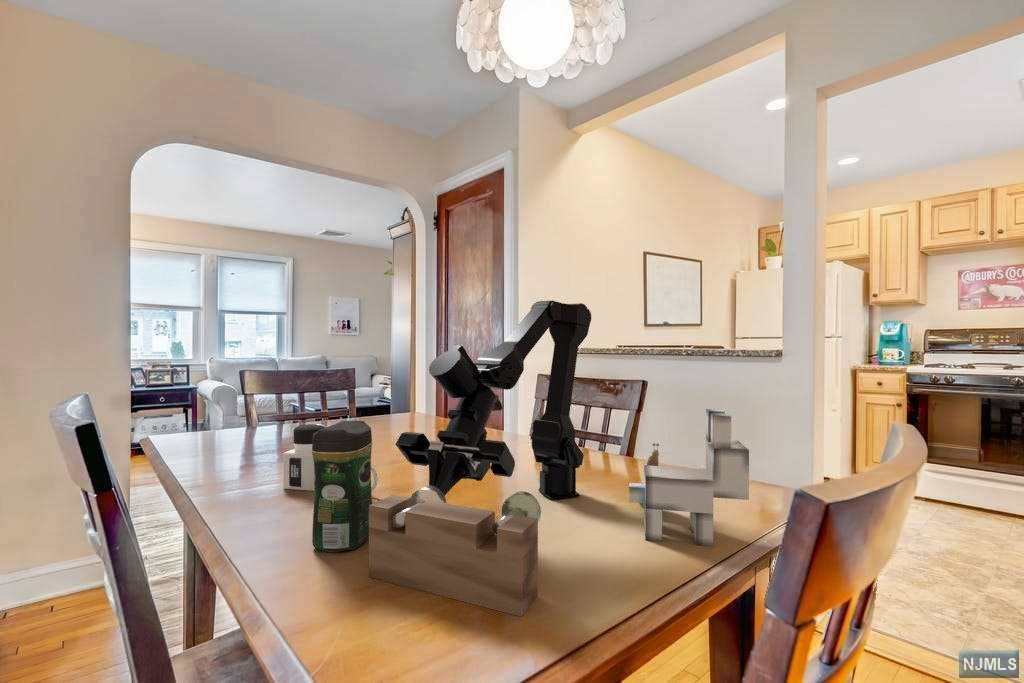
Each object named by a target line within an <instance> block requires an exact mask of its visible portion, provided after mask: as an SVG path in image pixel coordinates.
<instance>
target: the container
mask: <svg viewBox="0 0 1024 683" xmlns="http://www.w3.org/2000/svg"><path fill="white" fill-rule="evenodd" d="M326 427H327V426H325V425H323V424H320V423H306V424H301V425H298V426H295V427H294V429H293V449H290V450H288V451H284V452H283V454H282V455H283V456H282V459H283V460H282V464H283V465H282V466H283V467H282V469H283V470H282V473H283V477H282V478H283V479H282V481H283V482H282V483H283V484H282V486H283V489H284V490H297V491H309V492H310V491H311V492H314V476H315V474H314V461H313V455H312V442H313V439H312V436H313V434H314V433H315V432H318V430H320V429H322V428H326Z"/></svg>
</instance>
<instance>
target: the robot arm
mask: <svg viewBox="0 0 1024 683" xmlns="http://www.w3.org/2000/svg"><path fill="white" fill-rule="evenodd" d="M591 322H592V312H591V310H590V309H589V308H588V307H587V305H585V304H584V303H581V302H580V303H563V302H559V301H556V300H553V299H552V300H541V301H536V302H534V303H533V304H532V305H531V308H530V311H528V313H527V314H526V315H525V316H524V317H523V318H522V320H521V321H520V322H519V324H517V325H516V327H515V328H514V329H513V331H511V333H510V334H509V335H508V336H507V338H506V339H505V340H504V341H503V342H502V343H501V344H499V345H497V346H494V347H492V348H490V349H488V350H487V351H486V352H484V353H483V354H482V355H481V356H480V357H479V358H478V359H476V361H475V363H474V361H473V360H472V359H471V357H470V356H469V355H468V353H467V350H466V349H465V347H464V346H463V345H453V346H452V347H451V348H450V349H449V350H447V351H444V352H443V353H440V355H438V356H437V357H436V358H434V359H433V360H432V361H431V363H430V364H429V368H428V371H429V372H428V373H429V374H430V375H431V377H432V378H433V379H434V381H435V382H436V383H437V384H438V385H439V386H440V387H441V388H442V389H443V391H444V392H445V393H446V394H447V396H448V397H449V398H451V399H459V401H458V403H457V404H456V407H455V409H449V410H448V412H447V413H446V416H448V419H449V421H448V422H447V425H446V428H445V430H440V429H439V430H438V432H437V435H436V436H437V438H438V439H439V440H429V439H428V437H427V436H426V434H425V433H422V432H410V431H405V432H401V434H400V436H399V437H398V438H397V441H396V442H395V444H394V445H395V446H396V447H397V449H398V450H399V451H400V453H401V454H402V455H403V457H405V459H406V460H407V462H408V463H409V464H410V465H411V464H412V465H416V466H422V467H427V466H428V486H434V487H436V488H438V489H439V490H440V491H441V492H442V493H443V494H444V496H446V495H447V494H448V493H449V492H450V491H451V490H452V489H453V488H454V486H456V485H457V483H458V482H460V481H461V480H467V479H469V480H474V481H477V482H481V481H482V480H483V479H484V478H485V477H486V474H487V473H488V472H489V470H490V471H491V472H492V474H493V475H494V476H498V477H504V478H505V477H506V478H511V477H512V476H513V473H514V470H515V468H516V467H515V466H516V460H515V458H514V457H513V454H512V453H511V451H510V448H509V447H508V445H507V443H506V441H502V440H501V441H499V440H491V439H487V435H488V432H487V430H486V426H487V425H488V424H487V423H488V421H489V419H490V416H491V414H492V412H498V411H503V405H502V402H501V401H500V396H499V394H496V393H495V392H494V391H493V389H495V390H504V391H505V390H506V391H509V390H512V389H513V388H514V387H515V386H516V385H517V383H518V381H519V380H520V378H521V375H522V374H523V373H524V370H525V367H524V365H525V363H524V361H525V360H526V358H527V356H528V355H529V353H530V352H531V351H532V350H533V349H534V347H535V346H536V345H537V343H538V342H539V341H540V339H541V338H542V337H543V336H544V335H545V333H546V332H547V331H548V332H549V334H550V336H551V340H552V341H553V345H554V346H553V353H552V359H551V360H552V361H551V367H550V374H549V375H550V376H549V381H548V389H547V395H546V396H547V397H546V403H545V411H544V413H543V415H542V416H540V418H539V419H536V418H535V419H534V420H533V423H532V432H531V436H530V439H529V440H531V449H532V450H533V454H534V459H535V462H536V463H540V464H541V470H540V471H539V487H538V492H540V493H541V494H543V496H545V497H546V498H548V499H550V500H558V499H570V498H577V497H578V498H579V497H580V494H581V493H579V492H578V491H577V490H576V489H577V484H576V483H577V469H579V468H580V467H581V466H582V465H583V462H584V457H585V456H584V453H583V451H582V450H581V448H580V447H579V445H578V444H577V441H576V429H575V427H574V424H573V422H572V419H571V418H570V415H571V406H572V397H573V392H574V391H573V389H574V382H575V375H576V366H577V359H578V353H579V352H578V351H579V347H580V346H581V344H582V343H583V342H584V341H585V339H586V337H588V334H589V329H590V326H591Z"/></svg>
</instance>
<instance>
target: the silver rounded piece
mask: <svg viewBox="0 0 1024 683" xmlns="http://www.w3.org/2000/svg"><path fill="white" fill-rule="evenodd" d="M445 496H446V495H445ZM445 496H444V494H443V493H442V492H441V491H440V490H439V489H438V488H436V487H434V486H429V485H427V486H424V487H421V488H420V489H417V490H415V491H414V492H413V493H412V494H411V496H410V497H411V507H409V508H407V509H405V510H403V511H401V512H399V513H397V514H395V515H394V516H393V519H392V522H393V525H394V526H395V527H396V528H401V527H403V526H405V517H406V511H408V510H410V509H412V508H414V507H416V506H418V505H420V504H422V503H424V502H426V501H428V500H429V501H435V502H441V503H447V500H446V497H445Z"/></svg>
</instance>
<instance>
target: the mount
mask: <svg viewBox="0 0 1024 683" xmlns="http://www.w3.org/2000/svg"><path fill="white" fill-rule="evenodd" d="M409 507H411V496H405V495H398V494H391V495H389V496H386V497H384V498H382V499H380V500H378V501H375V502H372V504H371V505H369V537H368V578H372V579H374V580H378V581H382V582H386V583H389V584H394V585H398V586H402V587H405V588H409V589H413V590H417V591H421V592H425V593H429V594H432V595H436V596H439V597H440V596H441V597H444V598H446V599H447V598H449V599H450V600H451V599H452V600H455V601H460V602H464V603H467V604H471V605H475V606H479V607H482V608H487V609H491V610H494V611H499V612H502V613H505V614H510V615H514V616H517V617H522V616H524V614H525V613H526V611H527V610H528V609H529V608H530V606H531V605H532V604H533V603H534V601H535V600H536V599H537V597H538V596H539V595H538V594H539V593H538V592H539V590H538V588H539V587H538V586H539V584H538V583H539V580H538V579H539V574H538V573H539V565H538V564H539V549H538V548H539V544H538V543H539V541H538V540H539V535H538V534H539V522H538V518H532V517H526V516H520V515H514V516H513V517H511V518H510V519H509V520H507V521H506V522H505V523H504V524H502V525H501V526H500V527H498V528H497V535H496V534H495V533H494V531H493V525H494V524H495V523H496V510H495V511H494V510H488V509H482V508H476V507H470V506H465V505H458V504H452V503H447V502H446V503H441V502H435V501H429V500H428V501H426V502H424V503H422V504H420V505H418V506H416V507H414V508H412V509H410V510H408V511H406V517H405V526H403V527H401V528H396V527H395V526H394V525H393V522H392V519H393V516H394V515H395V514H397V513H399V512H401V511H403V510H405V509H407V508H409Z"/></svg>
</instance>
